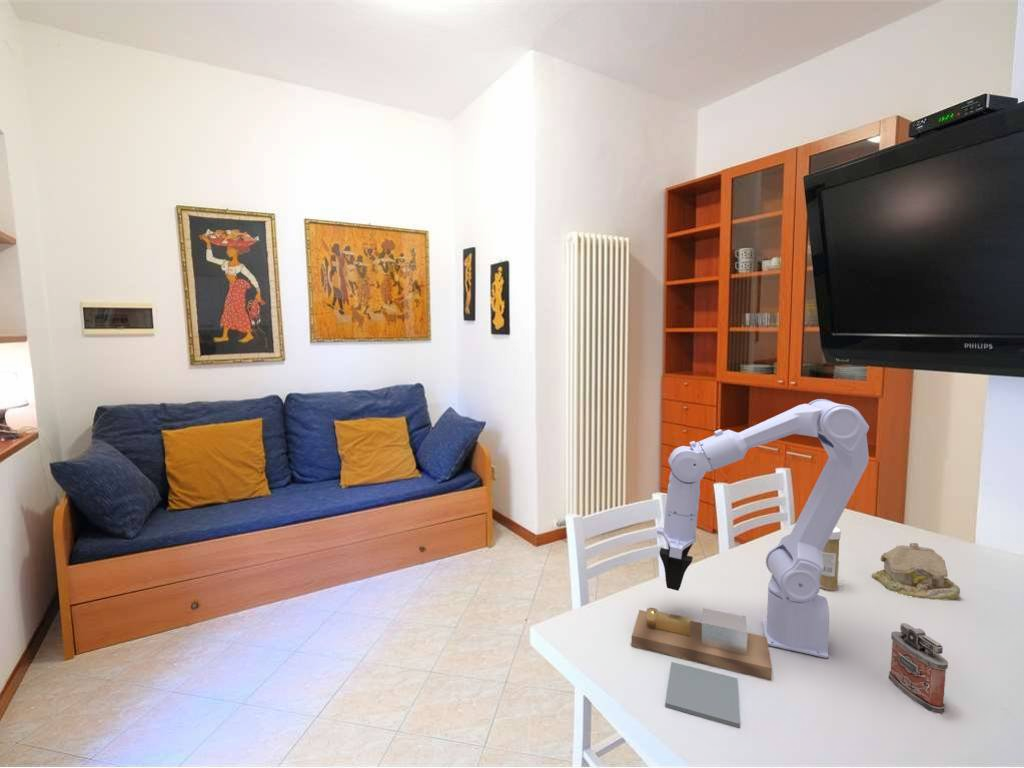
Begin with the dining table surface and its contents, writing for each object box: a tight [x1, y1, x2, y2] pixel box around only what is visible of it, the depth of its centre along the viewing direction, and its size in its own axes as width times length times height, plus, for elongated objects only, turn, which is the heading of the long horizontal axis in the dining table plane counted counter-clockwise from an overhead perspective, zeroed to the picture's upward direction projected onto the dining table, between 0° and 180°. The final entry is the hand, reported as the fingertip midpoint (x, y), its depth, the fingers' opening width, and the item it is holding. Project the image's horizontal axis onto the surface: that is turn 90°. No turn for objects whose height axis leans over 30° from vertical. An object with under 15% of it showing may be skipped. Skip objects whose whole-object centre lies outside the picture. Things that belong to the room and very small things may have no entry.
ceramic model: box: [871, 542, 961, 600], centre depth 105 cm, size 14×11×10 cm
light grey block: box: [701, 607, 749, 655], centre depth 82 cm, size 7×5×4 cm
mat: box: [664, 661, 741, 729], centre depth 73 cm, size 10×10×1 cm
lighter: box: [888, 622, 949, 714], centre depth 72 cm, size 8×3×10 cm, turn 5°
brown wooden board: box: [631, 609, 773, 681], centre depth 84 cm, size 22×9×2 cm, turn 66°
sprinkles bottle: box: [820, 526, 842, 592], centre depth 105 cm, size 5×5×14 cm
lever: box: [646, 607, 692, 636], centre depth 86 cm, size 8×2×3 cm, turn 66°
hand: (674, 579), depth 91 cm, fingers open, 7 cm apart
